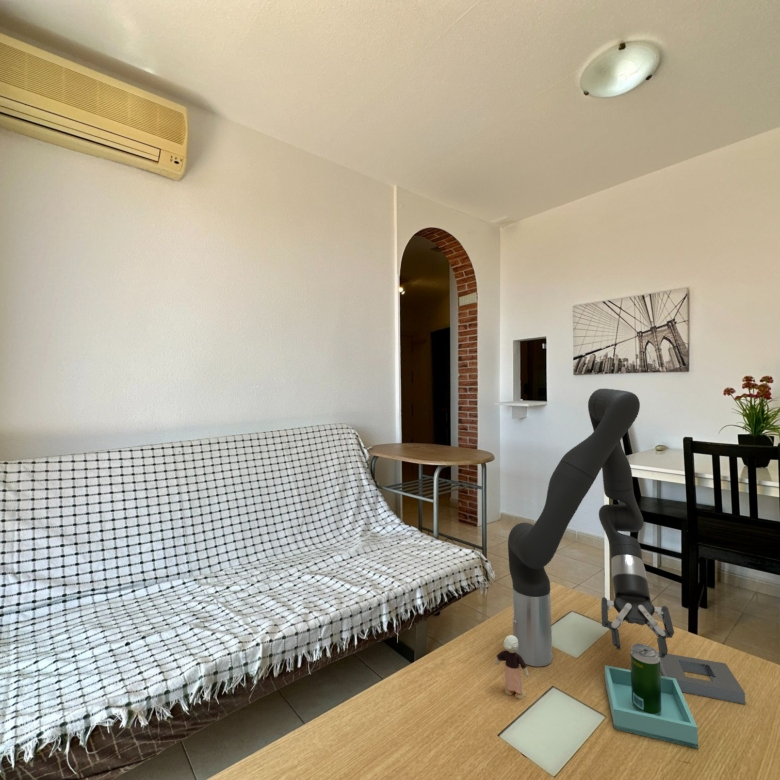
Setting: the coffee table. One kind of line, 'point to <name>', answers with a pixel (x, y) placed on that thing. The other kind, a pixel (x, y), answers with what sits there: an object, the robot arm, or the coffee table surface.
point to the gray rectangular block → (718, 688)
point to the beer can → (645, 679)
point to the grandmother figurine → (512, 667)
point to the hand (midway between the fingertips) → (640, 652)
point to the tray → (666, 726)
